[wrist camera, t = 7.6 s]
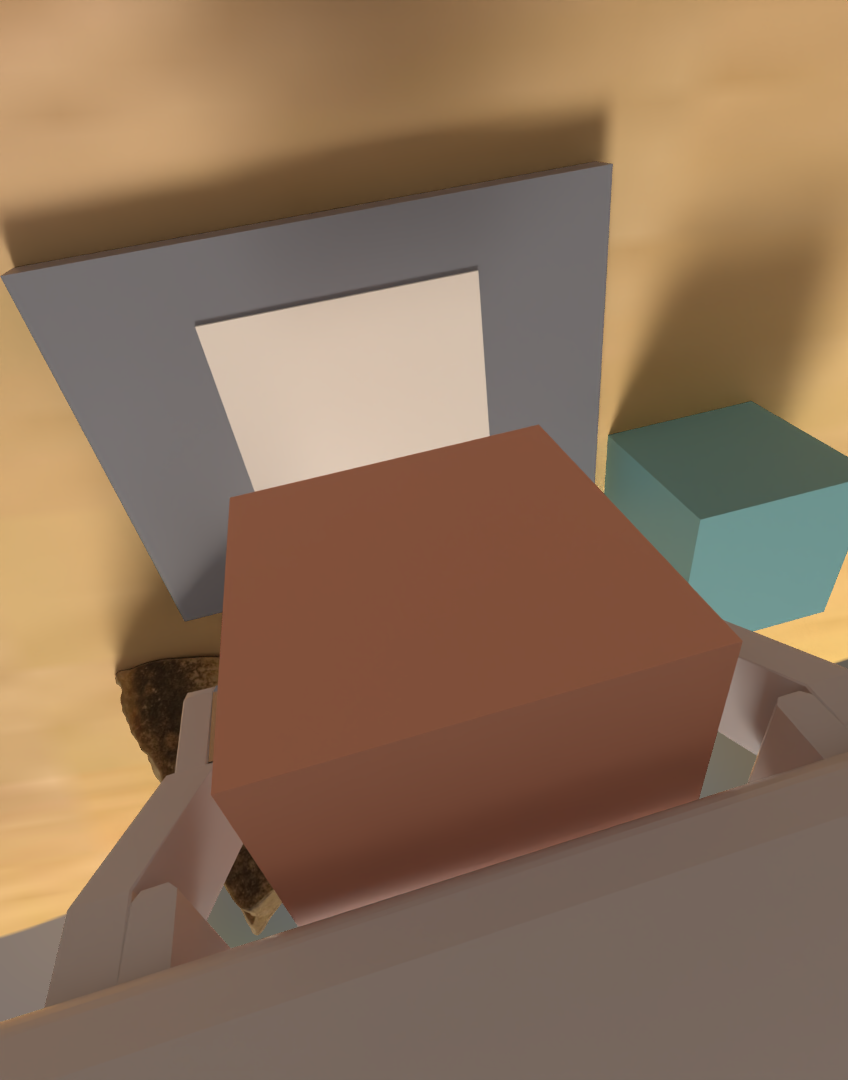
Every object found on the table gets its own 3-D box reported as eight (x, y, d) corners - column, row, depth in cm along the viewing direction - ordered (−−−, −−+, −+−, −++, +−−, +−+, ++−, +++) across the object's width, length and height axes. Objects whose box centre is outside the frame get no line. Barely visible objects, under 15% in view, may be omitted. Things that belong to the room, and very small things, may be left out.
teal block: (750, 400, 23) (877, 474, 18) (723, 523, 27) (823, 611, 22) (607, 434, 22) (700, 519, 18) (599, 555, 26) (675, 652, 21)
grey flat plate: (596, 161, 17) (614, 164, 16) (581, 506, 24) (593, 521, 23) (13, 267, 15) (-2, 277, 14) (187, 603, 22) (184, 623, 22)
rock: (396, 801, 29) (399, 692, 23) (302, 995, 24) (267, 928, 17) (220, 715, 32) (175, 596, 26) (98, 870, 27) (-3, 769, 20)
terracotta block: (538, 424, 11) (743, 640, 7) (542, 637, 15) (676, 876, 10) (229, 497, 11) (210, 795, 6) (311, 702, 14) (340, 989, 10)
